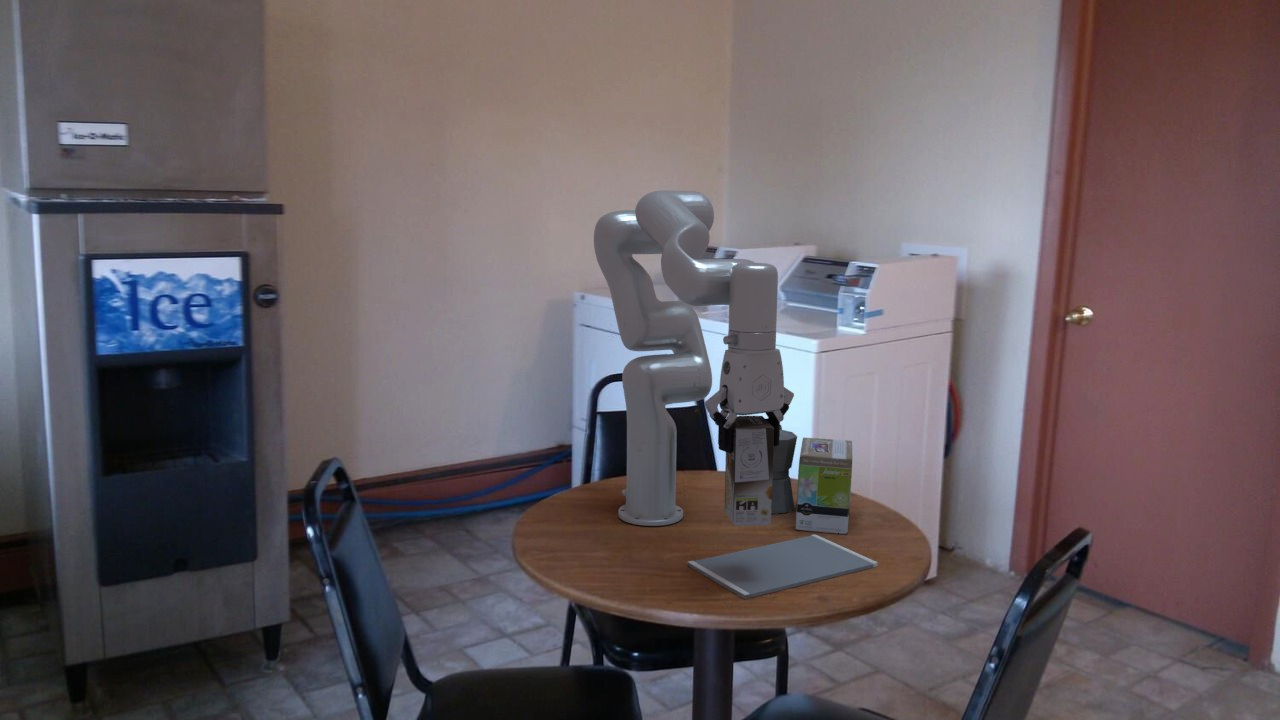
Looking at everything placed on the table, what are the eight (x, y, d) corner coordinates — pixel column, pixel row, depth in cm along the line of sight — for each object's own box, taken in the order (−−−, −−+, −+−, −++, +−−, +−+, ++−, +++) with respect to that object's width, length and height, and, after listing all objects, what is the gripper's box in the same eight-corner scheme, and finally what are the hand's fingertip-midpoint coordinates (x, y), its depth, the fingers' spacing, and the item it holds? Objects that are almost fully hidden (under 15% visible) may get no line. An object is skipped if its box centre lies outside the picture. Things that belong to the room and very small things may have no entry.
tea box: (849, 535, 183) (853, 458, 180) (794, 531, 185) (797, 454, 182) (849, 510, 197) (852, 438, 195) (798, 506, 199) (801, 435, 197)
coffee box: (772, 526, 157) (775, 427, 154) (732, 527, 156) (735, 428, 154) (760, 508, 166) (763, 414, 163) (722, 508, 165) (724, 415, 163)
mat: (687, 565, 167) (687, 561, 166) (814, 537, 181) (815, 534, 181) (744, 599, 153) (744, 594, 153) (877, 566, 167) (877, 562, 167)
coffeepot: (790, 519, 191) (794, 429, 188) (742, 515, 193) (745, 425, 190) (799, 496, 206) (802, 412, 203) (754, 492, 208) (756, 409, 205)
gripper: (721, 348, 149) (718, 459, 152) (809, 340, 158) (805, 446, 160) (693, 341, 155) (691, 449, 158) (780, 334, 164) (776, 436, 167)
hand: (749, 447), depth 159 cm, fingers closed on coffee box, 8 cm apart
